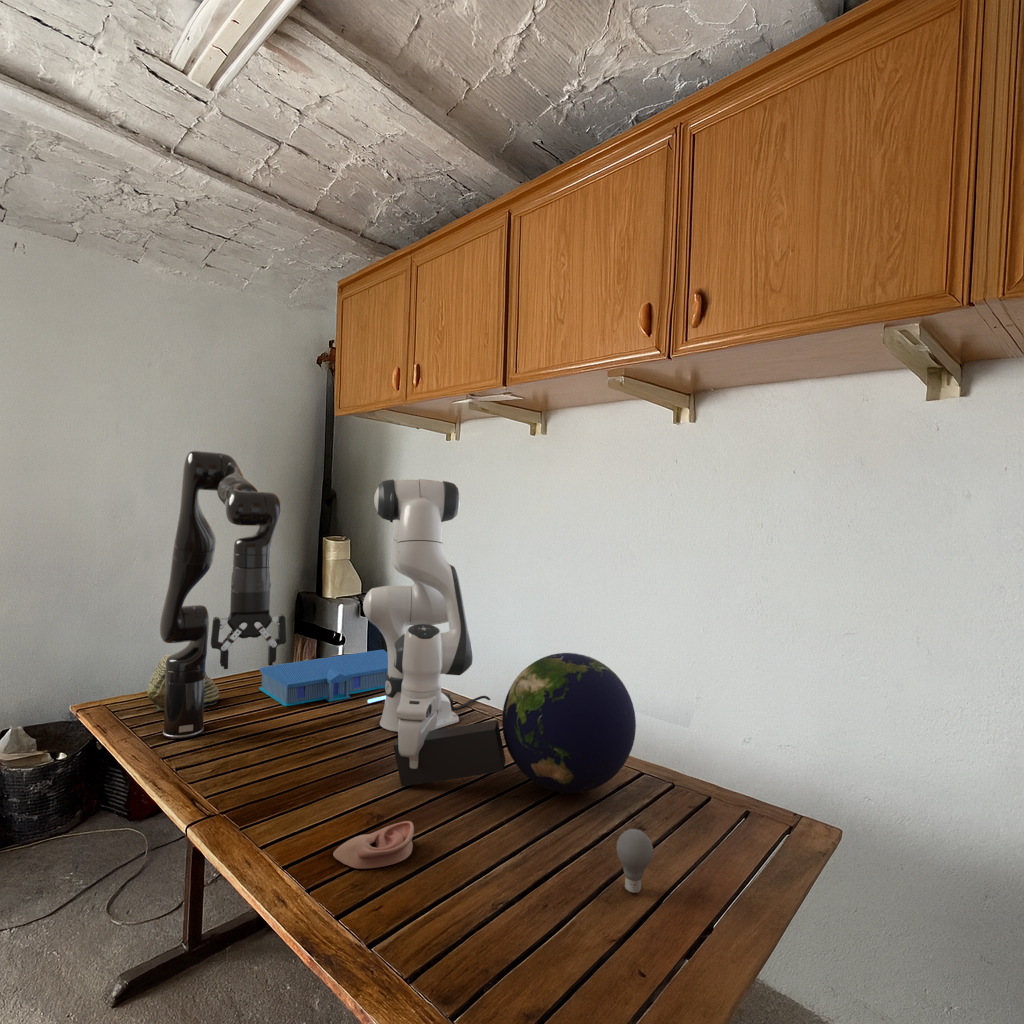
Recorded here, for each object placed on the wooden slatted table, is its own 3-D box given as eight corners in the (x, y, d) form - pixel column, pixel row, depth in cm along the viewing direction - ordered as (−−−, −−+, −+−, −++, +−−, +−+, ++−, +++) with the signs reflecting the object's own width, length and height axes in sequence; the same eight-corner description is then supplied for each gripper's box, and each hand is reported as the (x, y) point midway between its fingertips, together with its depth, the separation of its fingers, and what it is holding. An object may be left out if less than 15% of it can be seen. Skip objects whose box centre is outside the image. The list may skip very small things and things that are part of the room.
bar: (505, 760, 142) (497, 719, 142) (503, 771, 137) (494, 729, 136) (407, 775, 144) (399, 735, 144) (401, 787, 139) (392, 745, 139)
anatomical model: (325, 840, 109) (354, 809, 121) (324, 863, 109) (354, 830, 121) (397, 852, 107) (421, 819, 118) (396, 876, 107) (420, 840, 118)
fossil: (144, 707, 182) (145, 655, 182) (212, 696, 194) (213, 647, 194) (151, 716, 175) (153, 662, 175) (221, 703, 188) (223, 653, 188)
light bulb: (610, 879, 108) (613, 822, 108) (644, 879, 109) (647, 822, 109) (619, 902, 102) (622, 840, 102) (655, 901, 103) (658, 840, 103)
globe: (477, 800, 135) (483, 660, 134) (527, 751, 163) (532, 634, 162) (615, 833, 124) (622, 681, 123) (643, 774, 151) (649, 649, 151)
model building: (289, 709, 186) (291, 675, 185) (258, 688, 204) (259, 657, 204) (403, 687, 212) (405, 657, 212) (366, 670, 230) (368, 643, 230)
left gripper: (284, 584, 137) (281, 659, 137) (211, 586, 130) (208, 664, 131) (290, 589, 131) (287, 668, 131) (213, 592, 124) (211, 674, 124)
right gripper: (419, 684, 151) (416, 741, 152) (393, 713, 131) (391, 779, 131) (444, 686, 151) (442, 744, 151) (423, 715, 130) (420, 782, 131)
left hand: (248, 666), depth 131 cm, fingers open, 8 cm apart
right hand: (418, 760), depth 141 cm, fingers closed on bar, 5 cm apart
